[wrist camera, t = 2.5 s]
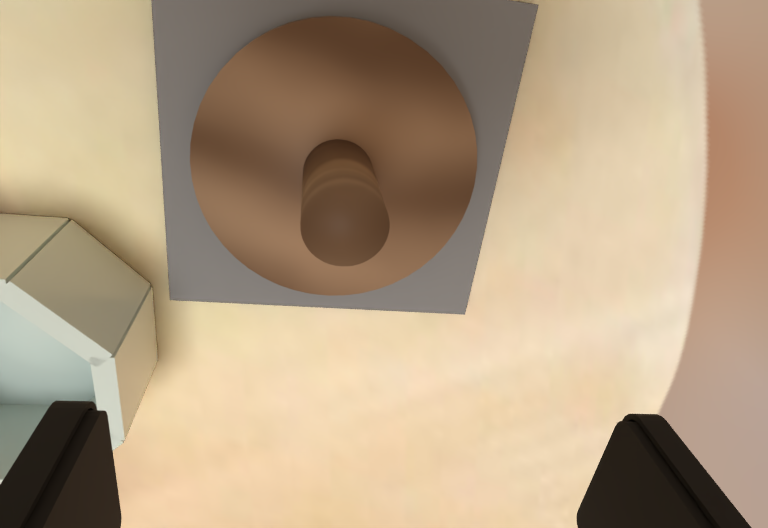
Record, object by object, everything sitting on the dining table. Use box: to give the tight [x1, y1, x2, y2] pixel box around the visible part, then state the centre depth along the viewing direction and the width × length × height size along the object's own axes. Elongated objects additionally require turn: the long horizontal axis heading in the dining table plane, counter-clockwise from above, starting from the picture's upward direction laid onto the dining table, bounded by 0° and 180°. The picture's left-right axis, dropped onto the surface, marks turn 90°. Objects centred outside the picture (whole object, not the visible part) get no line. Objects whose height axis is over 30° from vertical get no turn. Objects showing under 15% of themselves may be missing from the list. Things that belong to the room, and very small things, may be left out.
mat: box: [152, 0, 538, 314], centre depth 26 cm, size 16×16×1 cm
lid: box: [190, 16, 477, 296], centre depth 22 cm, size 13×13×7 cm
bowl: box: [0, 213, 158, 484], centre depth 25 cm, size 12×12×6 cm
